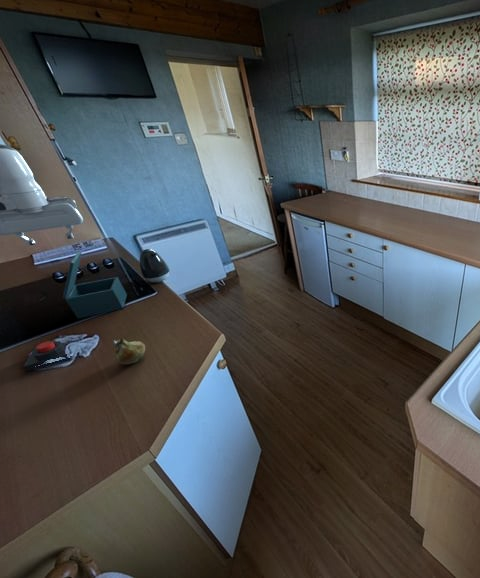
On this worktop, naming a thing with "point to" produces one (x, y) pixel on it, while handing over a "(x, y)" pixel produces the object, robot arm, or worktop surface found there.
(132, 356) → the onion
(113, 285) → the tin
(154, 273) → the black egg-shaped dome
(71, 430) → the worktop surface
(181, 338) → the worktop surface
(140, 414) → the worktop surface
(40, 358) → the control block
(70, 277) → the lid
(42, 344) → the button
